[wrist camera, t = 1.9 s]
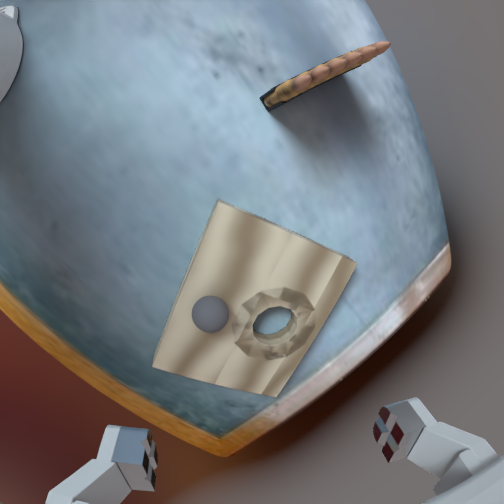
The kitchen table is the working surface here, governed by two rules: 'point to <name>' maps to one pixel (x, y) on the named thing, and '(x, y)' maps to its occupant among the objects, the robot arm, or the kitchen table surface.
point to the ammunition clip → (321, 75)
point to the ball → (210, 314)
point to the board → (251, 302)
